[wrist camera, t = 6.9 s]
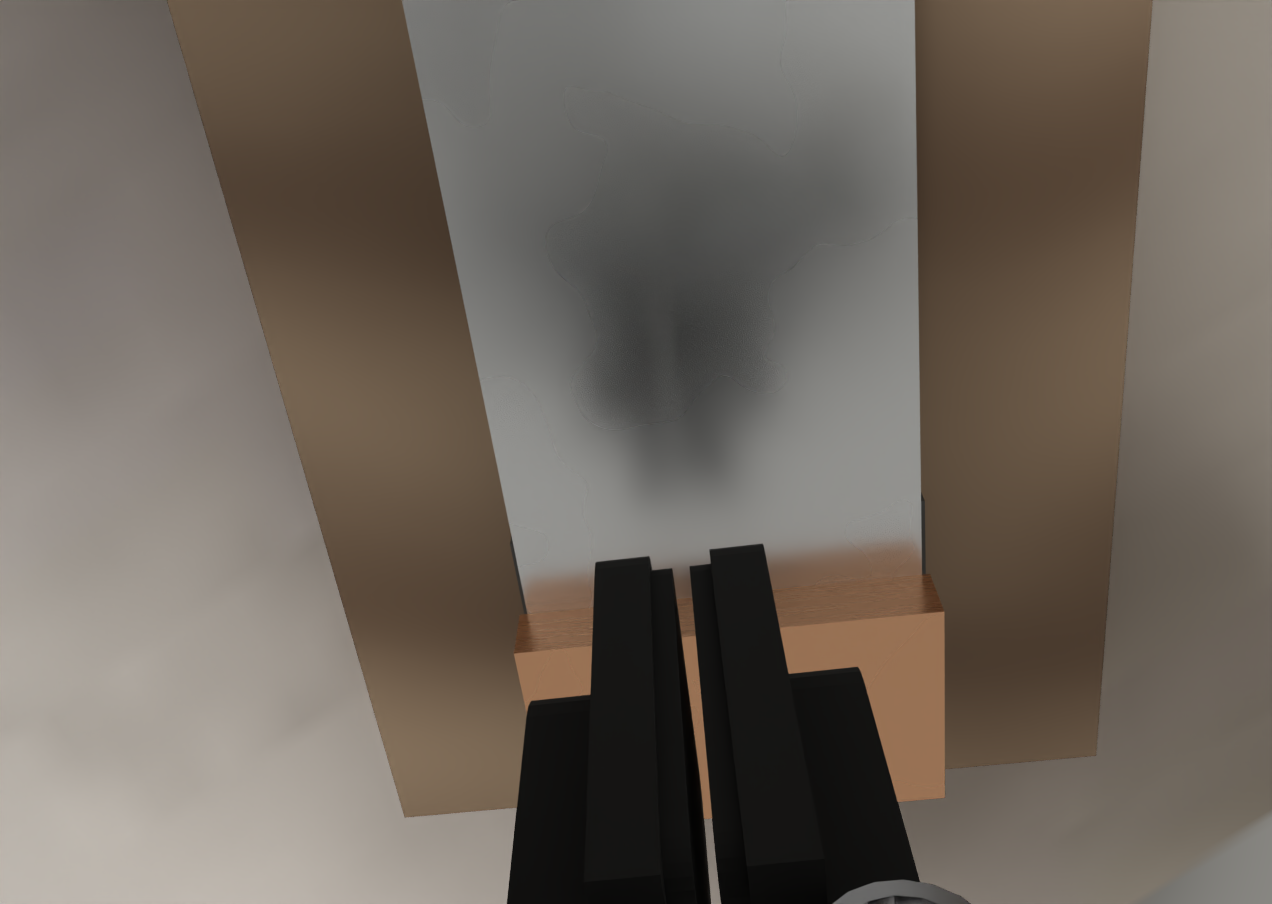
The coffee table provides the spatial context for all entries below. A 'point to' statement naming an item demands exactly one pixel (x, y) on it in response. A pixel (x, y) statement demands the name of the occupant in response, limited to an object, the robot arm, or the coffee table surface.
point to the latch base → (455, 411)
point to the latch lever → (699, 319)
